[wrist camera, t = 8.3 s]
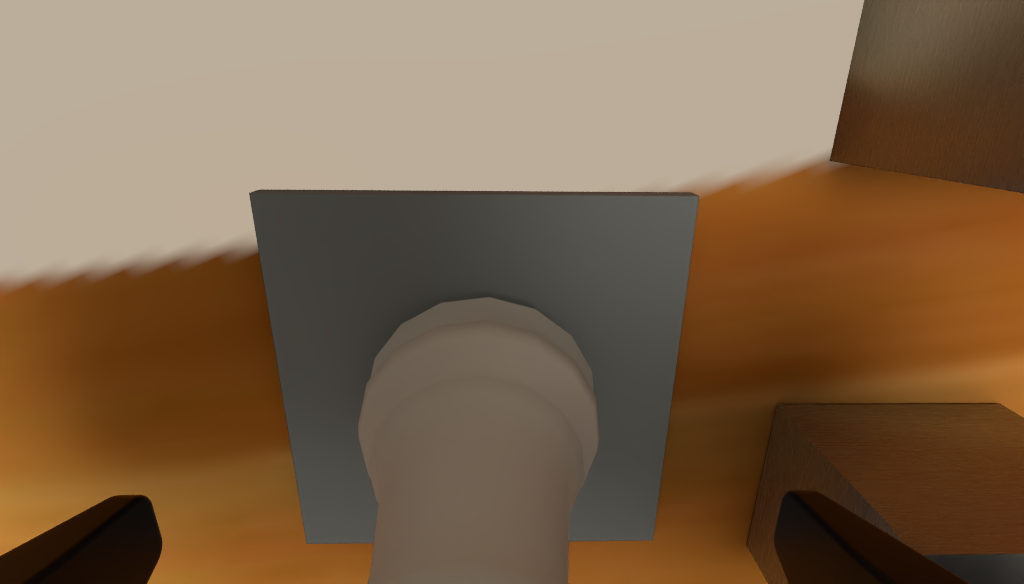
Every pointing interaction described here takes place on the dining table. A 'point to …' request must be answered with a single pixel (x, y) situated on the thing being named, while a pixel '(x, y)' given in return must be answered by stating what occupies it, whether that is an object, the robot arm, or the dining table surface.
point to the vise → (920, 427)
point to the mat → (470, 275)
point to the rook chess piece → (477, 446)
